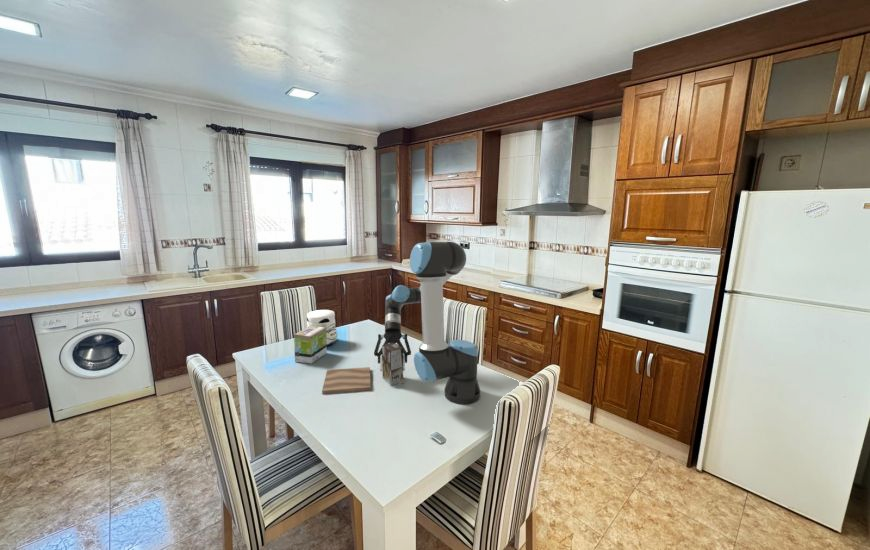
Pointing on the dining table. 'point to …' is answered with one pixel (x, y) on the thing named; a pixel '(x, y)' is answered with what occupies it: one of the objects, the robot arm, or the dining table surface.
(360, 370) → the tan board
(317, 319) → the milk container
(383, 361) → the coffee box
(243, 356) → the dining table surface
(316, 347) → the tea box
